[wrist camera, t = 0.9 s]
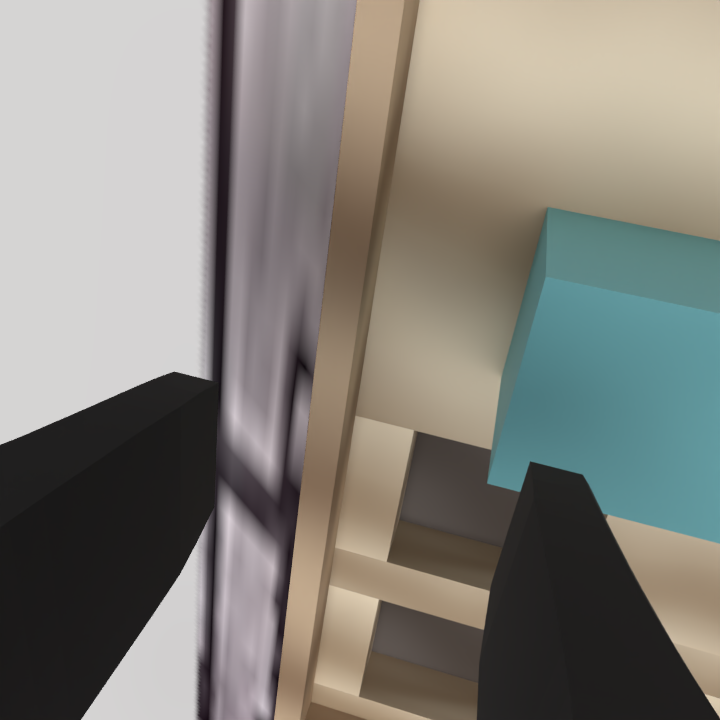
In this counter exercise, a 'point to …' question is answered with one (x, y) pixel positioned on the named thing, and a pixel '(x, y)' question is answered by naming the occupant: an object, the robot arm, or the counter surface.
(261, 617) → the counter surface
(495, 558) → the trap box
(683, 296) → the block
